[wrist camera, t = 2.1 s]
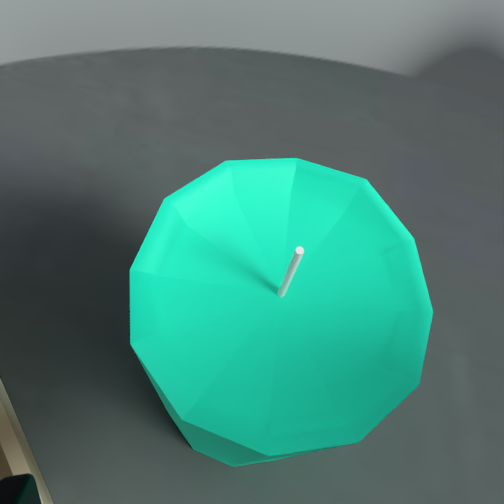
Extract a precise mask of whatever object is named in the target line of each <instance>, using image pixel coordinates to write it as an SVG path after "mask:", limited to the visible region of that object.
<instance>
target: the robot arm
mask: <svg viewBox="0 0 504 504" xmlns="http://www.w3.org/2000/svg"><path fill="white" fill-rule="evenodd" d="M0 504H42V503H41V499H40V496H39V492H38V488H37V484H36V481H35V478H34V476H33V475H32V474H29V473H26V474H19V475H13V476H7V477H4V478H3V479H1V480H0Z"/></svg>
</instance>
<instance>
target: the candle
mask: <svg viewBox="0 0 504 504" xmlns="http://www.w3.org/2000/svg"><path fill="white" fill-rule="evenodd" d="M432 315H433V309H432V306H431V302H430V298H429V294H428V290H427V286H426V283H425V279H424V275H423V271H422V267H421V264H420V260H419V256H418V252H417V248H416V244H415V241H414V238H413V237H412V235H411V234H410V233H409V232H408V230H407V229H406V228H405V227H404V225H403V224H402V223H401V222H400V220H399V219H398V218H397V217H396V215H395V214H394V213H393V212H392V210H391V209H390V208H389V207H388V205H387V204H386V203H385V202H384V201H383V199H382V198H381V197H380V196H379V194H378V193H377V192H376V191H375V189H374V188H373V187H372V186H371V184H370V183H369V182H368V181H367V179H364V178H360V177H357V176H354V175H350V174H347V173H344V172H341V171H337V170H334V169H331V168H328V167H324V166H321V165H318V164H315V163H311V162H308V161H305V160H302V159H298V158H284V159H258V160H232V161H225V162H223V163H221V164H220V165H218V166H217V167H215V168H213V169H212V170H210V171H208V172H207V173H205V174H204V175H202V176H200V177H199V178H197V179H195V180H194V181H192V182H191V183H189V184H187V185H186V186H184V187H183V188H181V189H179V190H178V191H176V192H174V193H173V194H171V195H170V196H168V197H166V198H165V199H164V200H163V202H162V204H161V207H160V209H159V211H158V213H157V215H156V217H155V219H154V221H153V223H152V225H151V227H150V229H149V231H148V233H147V235H146V237H145V239H144V242H143V244H142V246H141V248H140V250H139V252H138V254H137V256H136V258H135V260H134V262H133V264H132V266H131V268H130V344H131V346H132V348H133V350H134V352H135V353H136V355H137V357H138V359H139V361H140V363H141V364H142V366H143V368H144V370H145V372H146V373H147V375H148V377H149V379H150V381H151V382H152V384H153V386H154V388H155V390H156V392H157V393H158V395H159V397H160V399H161V401H162V402H163V404H164V406H165V408H166V410H167V411H168V413H169V415H170V416H171V418H172V419H173V421H174V422H175V424H176V425H177V427H178V428H179V430H180V431H181V433H182V434H183V435H184V437H185V438H186V440H187V441H188V443H189V444H190V446H191V447H192V449H193V450H195V451H198V452H200V453H202V454H204V455H207V456H209V457H211V458H213V459H216V460H218V461H220V462H222V463H225V464H227V465H229V466H231V467H235V466H241V465H247V464H254V463H260V462H266V461H273V460H278V459H283V458H287V457H292V456H297V455H302V454H306V453H311V452H316V451H320V450H325V449H330V448H335V447H339V446H344V445H349V444H354V443H358V442H360V441H361V440H362V439H363V438H364V437H365V436H366V435H367V434H368V433H369V432H370V431H371V430H372V429H373V428H374V427H376V426H377V425H378V424H379V423H380V422H381V421H382V420H383V419H384V418H385V417H386V416H387V415H388V414H389V413H390V412H391V411H392V410H393V409H395V408H396V407H397V406H398V405H399V404H400V403H401V402H402V401H403V400H404V399H405V398H406V397H407V396H408V395H409V394H410V393H411V392H413V391H414V390H415V389H416V388H417V387H418V386H419V382H420V377H421V372H422V367H423V362H424V357H425V351H426V346H427V341H428V336H429V331H430V326H431V321H432Z"/></svg>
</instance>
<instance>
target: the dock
mask: <svg viewBox="0 0 504 504" xmlns="http://www.w3.org/2000/svg"><path fill="white" fill-rule="evenodd" d="M26 473H29V474H32V475H33V476H34V478H35V481H36V484H37V488H38V492H39V496H40V499H41V503H42V504H54V503H53V501H52V499H51V496H50V494H49V492H48V489H47V487H46V485H45V482H44V480H43V477H42V475H41V473H40V470H39V468H38V466H37V463H36V461H35V459H34V456H33V454H32V451H31V449H30V447H29V444H28V442H27V440H26V437H25V435H24V433H23V430H22V428H21V425H20V423H19V421H18V418H17V416H16V414H15V411H14V409H13V407H12V404H11V402H10V399H9V397H8V395H7V392H6V390H5V388H4V385H3V383H2V381H1V378H0V480H1V479H3V478H4V477H7V476H13V475H19V474H26Z"/></svg>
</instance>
